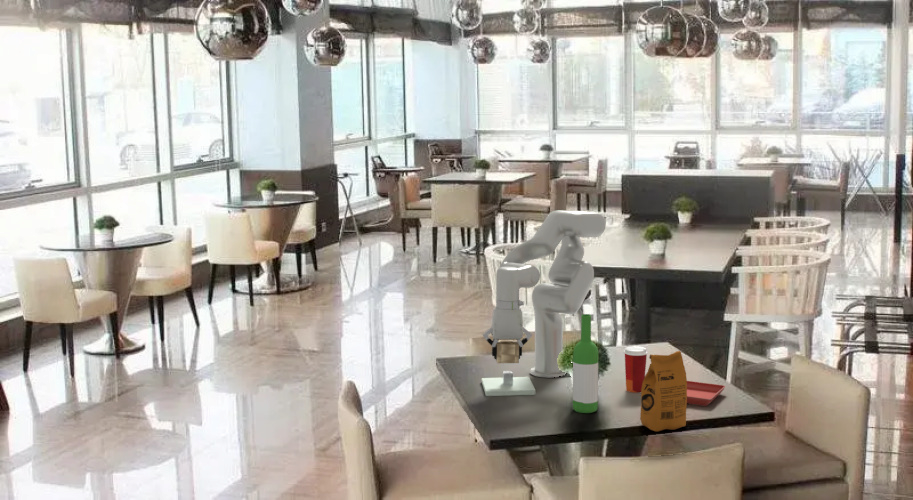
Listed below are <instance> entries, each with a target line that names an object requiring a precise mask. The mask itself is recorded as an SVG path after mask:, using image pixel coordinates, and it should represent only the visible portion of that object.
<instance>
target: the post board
mask: <svg viewBox="0 0 913 500" xmlns="http://www.w3.org/2000/svg"><path fill="white" fill-rule="evenodd" d="M481 384H482V388H483V391H484V394H485V396H486V397H494V396H495V397H498V396H499V397H501V396H502V397H504V396H534V395H536V389H535V386H534V384H533V382H532V381H531V379H530V376H516V377H515V376H514V373H513V371H512V370H502V377H482V378H481Z"/></svg>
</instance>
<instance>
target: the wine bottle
mask: <svg viewBox="0 0 913 500" xmlns="http://www.w3.org/2000/svg"><path fill="white" fill-rule="evenodd" d="M580 323H581V324H580V326H581V327H580V329H581V330H580V341H578V342H577V343H576V345H574V348H573V353H572V356H573V357H572V363H573V368H572V409H573V411H575V412H576V413H580V414H591V413H595V412H596V411H597V410H598V409H599V408H598V406H599V403H598V402H599V349H598V347H597V345H596V344H595V343H594V342H593V341H592V315H591V314H590V313H589V314H588V313H584V314H581V321H580Z"/></svg>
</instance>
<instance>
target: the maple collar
mask: <svg viewBox="0 0 913 500" xmlns="http://www.w3.org/2000/svg"><path fill="white" fill-rule="evenodd" d="M496 347H497V359H495V361H496V363H497V364H519V363H520V359H519V344H518V342H517V340H516V339H515V340H498V342H497V344H496Z"/></svg>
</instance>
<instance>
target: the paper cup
mask: <svg viewBox="0 0 913 500" xmlns="http://www.w3.org/2000/svg"><path fill="white" fill-rule="evenodd" d="M623 353H624V367H625V369H624V370H625V387H626V388H625V389H626V391H627V392H629V393H634V394H635V393H636V394H637V393H639V394H641V389H642V383H643V381H644V378H645V375H646V368H647V355H648V351H647V348H646V347H644V346H638V345H634V346H627V347H625V348H624V351H623Z"/></svg>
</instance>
